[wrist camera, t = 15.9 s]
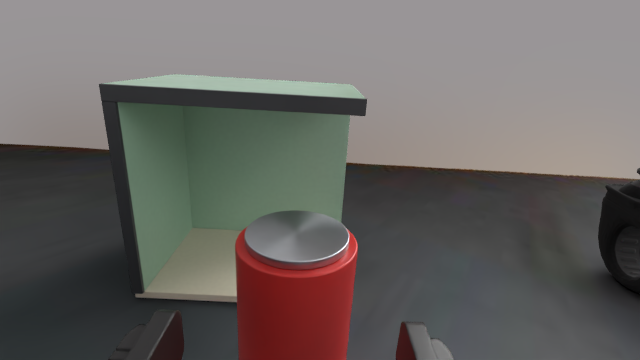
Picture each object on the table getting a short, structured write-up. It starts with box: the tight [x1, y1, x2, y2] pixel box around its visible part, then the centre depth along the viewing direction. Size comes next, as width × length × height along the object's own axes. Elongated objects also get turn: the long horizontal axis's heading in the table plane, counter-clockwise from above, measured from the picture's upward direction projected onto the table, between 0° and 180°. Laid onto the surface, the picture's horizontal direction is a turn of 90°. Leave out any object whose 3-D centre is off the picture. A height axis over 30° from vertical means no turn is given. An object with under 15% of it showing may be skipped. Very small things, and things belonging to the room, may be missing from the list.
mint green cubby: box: [99, 74, 367, 302], centre depth 28 cm, size 11×16×16 cm
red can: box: [235, 210, 358, 360], centre depth 17 cm, size 5×5×10 cm
